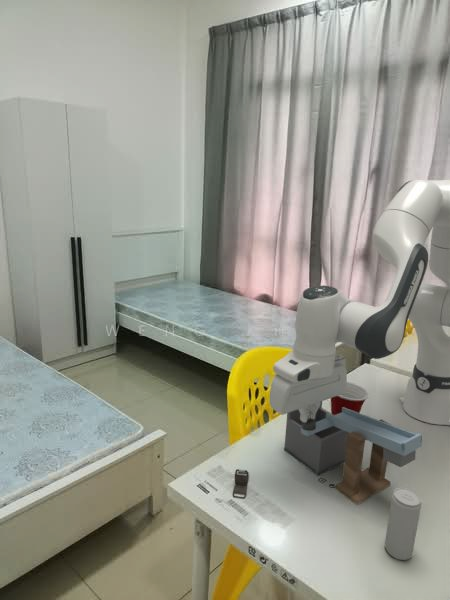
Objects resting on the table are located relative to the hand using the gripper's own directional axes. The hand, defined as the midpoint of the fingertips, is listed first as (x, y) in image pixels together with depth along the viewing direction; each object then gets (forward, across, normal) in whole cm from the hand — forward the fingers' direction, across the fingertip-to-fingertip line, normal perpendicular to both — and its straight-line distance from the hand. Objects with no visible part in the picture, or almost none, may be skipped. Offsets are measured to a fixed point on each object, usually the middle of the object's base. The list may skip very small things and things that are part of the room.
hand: (307, 419), depth 94 cm
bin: (+15, -10, -4) cm, 18 cm away
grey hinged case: (+15, +13, -5) cm, 21 cm away
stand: (+15, -10, +10) cm, 20 cm away
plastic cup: (+15, -26, -10) cm, 31 cm away
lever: (+4, -6, +10) cm, 12 cm away
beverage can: (+15, -1, +25) cm, 29 cm away
